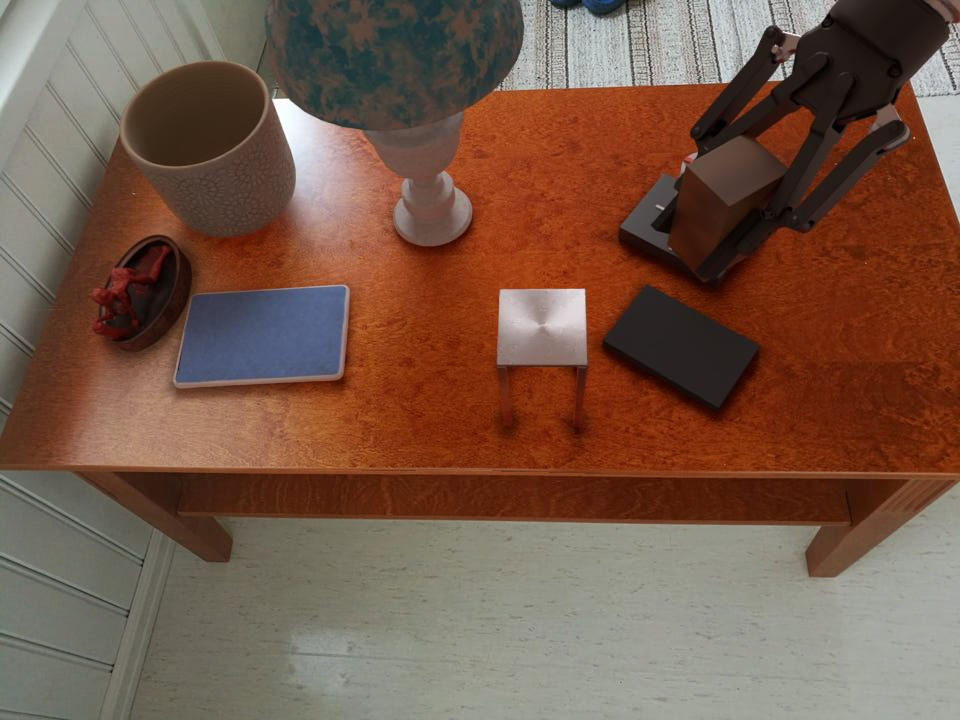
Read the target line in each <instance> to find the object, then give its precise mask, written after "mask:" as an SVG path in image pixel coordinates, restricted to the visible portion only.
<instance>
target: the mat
mask: <svg viewBox="0 0 960 720" xmlns="http://www.w3.org/2000/svg"><path fill="white" fill-rule="evenodd" d="M601 346H603V347H604V348H606V349H608V350H609V351H611V352H612V353H614V354H616V355H618V356H619V357H621V358H622V359H624V360H626V361H628V362H630V363H632V364H634V366H636V367H638V368H640V369H641V370H643V371H645V372H646V373H648V374H650V375H651V376H653V377H655V378H657V379H659V380H660V381H662V382H663V383H666V384H667V385H669V386H670V387H672V388H674V389H675V390H677V391H679V392H680V393H683V394H684V395H685V396H688V397H689V398H691V399H692V400H694V401H696V402H698V403H699V404H701V405H703V407H706V408H707V409H710V410H711V411H713V412H714V413H717V412H718V411H719V410H720V408H721V407H722V405H723V404H724V403H725V400H726V399H727V398H728V397H729V395H730V393H731V392H732V390H733V388H734V387H735V386H736V384H737V383H738V381H739V380H740V379H741V377H742V375H743V374H744V373H745V371H746V369H747V368H748V367H749V365H750V363H751V362H752V360H753V358H755V356H756V354H757V353H758V351H759V349H760V347H761V345H760V344H759V343H757V342H755V341H753V340H751V339H750V338H748V337H746V336H744V335H742V334H740V333H738V332H737V331H734V330H733V329H731V328H729V327H727V326H725V325H723V324H722V323H720V322H718V321H716V320H714V319H712V318H711V317H710V316H709V317H708V316H707V315H705V314H703V313H701V312H700V311H698V310H696V309H694V308H693V307H691V306H688V305H687V304H685V303H683V302H681V301H679V300H677V299H675V298H673V297H672V296H670V295H669V294H667V293H665V292H663V291H661V290H659V289H657V288H656V287H653V286H651V285H649V284H648V283H646V284H645V285H644V286H643V287H642V289H641V290H640V291H639V293H638V294H637V295H636V296H635V298H634V299H633V301H631V303H630V304H629V305H628V307H627V308H626V309H625V311H624V312H623V313H622V315H621V316H620V317H619V319H618V320H617V321H616V322H615V324H614V325H613V326H612V327H611V329H610V330H609V332H608V333H607V334H606V335H605V336H604V338H603V339H602V343H601Z"/></svg>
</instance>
